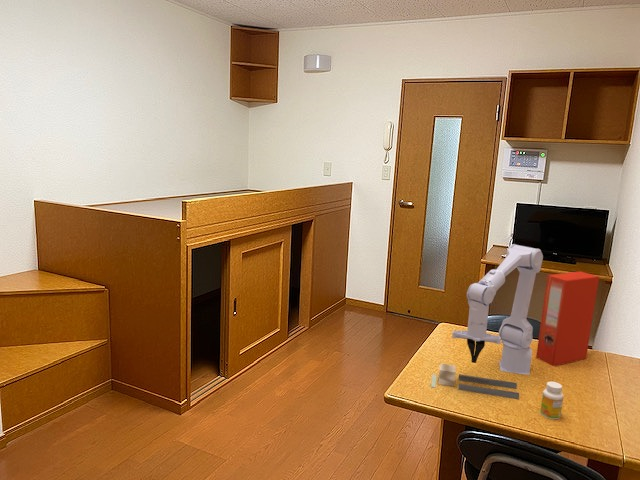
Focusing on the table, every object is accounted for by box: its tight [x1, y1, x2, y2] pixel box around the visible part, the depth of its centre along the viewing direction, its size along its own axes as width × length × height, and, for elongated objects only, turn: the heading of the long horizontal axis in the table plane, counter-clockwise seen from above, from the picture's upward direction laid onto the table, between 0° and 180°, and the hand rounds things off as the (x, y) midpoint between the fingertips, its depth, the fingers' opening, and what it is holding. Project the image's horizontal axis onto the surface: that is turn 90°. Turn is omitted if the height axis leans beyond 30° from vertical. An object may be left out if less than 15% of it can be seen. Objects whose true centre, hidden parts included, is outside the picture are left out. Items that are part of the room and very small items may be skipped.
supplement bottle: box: [540, 381, 564, 420], centre depth 142 cm, size 5×5×10 cm
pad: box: [430, 373, 437, 389], centre depth 160 cm, size 8×9×1 cm
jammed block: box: [438, 363, 457, 387], centre depth 159 cm, size 5×5×5 cm
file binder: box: [535, 270, 600, 367], centre depth 179 cm, size 8×17×32 cm, turn 115°
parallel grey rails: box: [457, 373, 520, 400], centre depth 156 cm, size 18×8×2 cm, turn 74°
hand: (473, 361), depth 156 cm, fingers closed
